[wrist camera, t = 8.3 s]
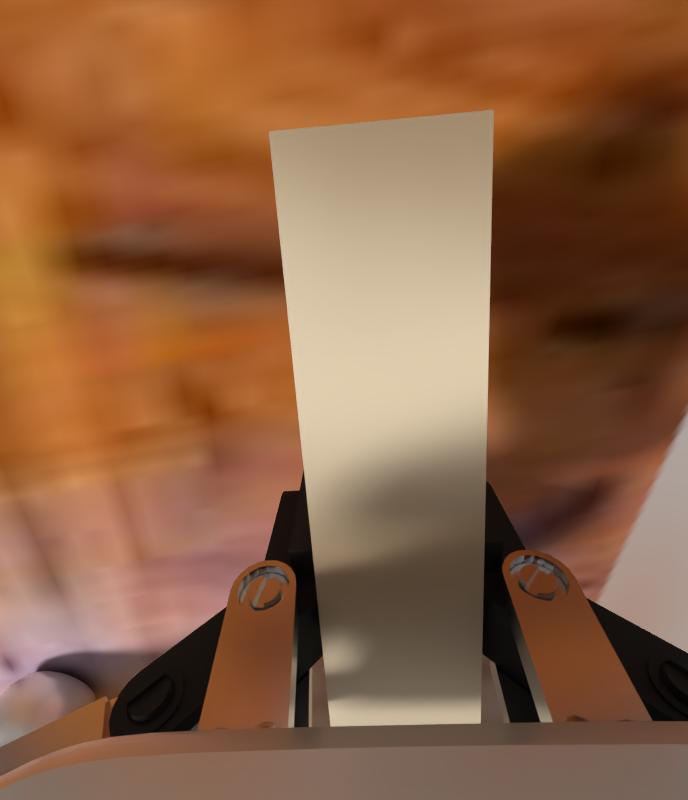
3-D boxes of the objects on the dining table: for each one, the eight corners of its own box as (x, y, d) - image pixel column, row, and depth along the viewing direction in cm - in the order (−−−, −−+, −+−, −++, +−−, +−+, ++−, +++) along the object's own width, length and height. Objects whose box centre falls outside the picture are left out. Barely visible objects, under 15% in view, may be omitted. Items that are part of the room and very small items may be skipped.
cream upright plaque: (220, 227, 10) (90, 147, 5) (520, 201, 10) (692, 90, 5) (278, 652, 13) (234, 849, 8) (504, 645, 13) (594, 848, 8)
